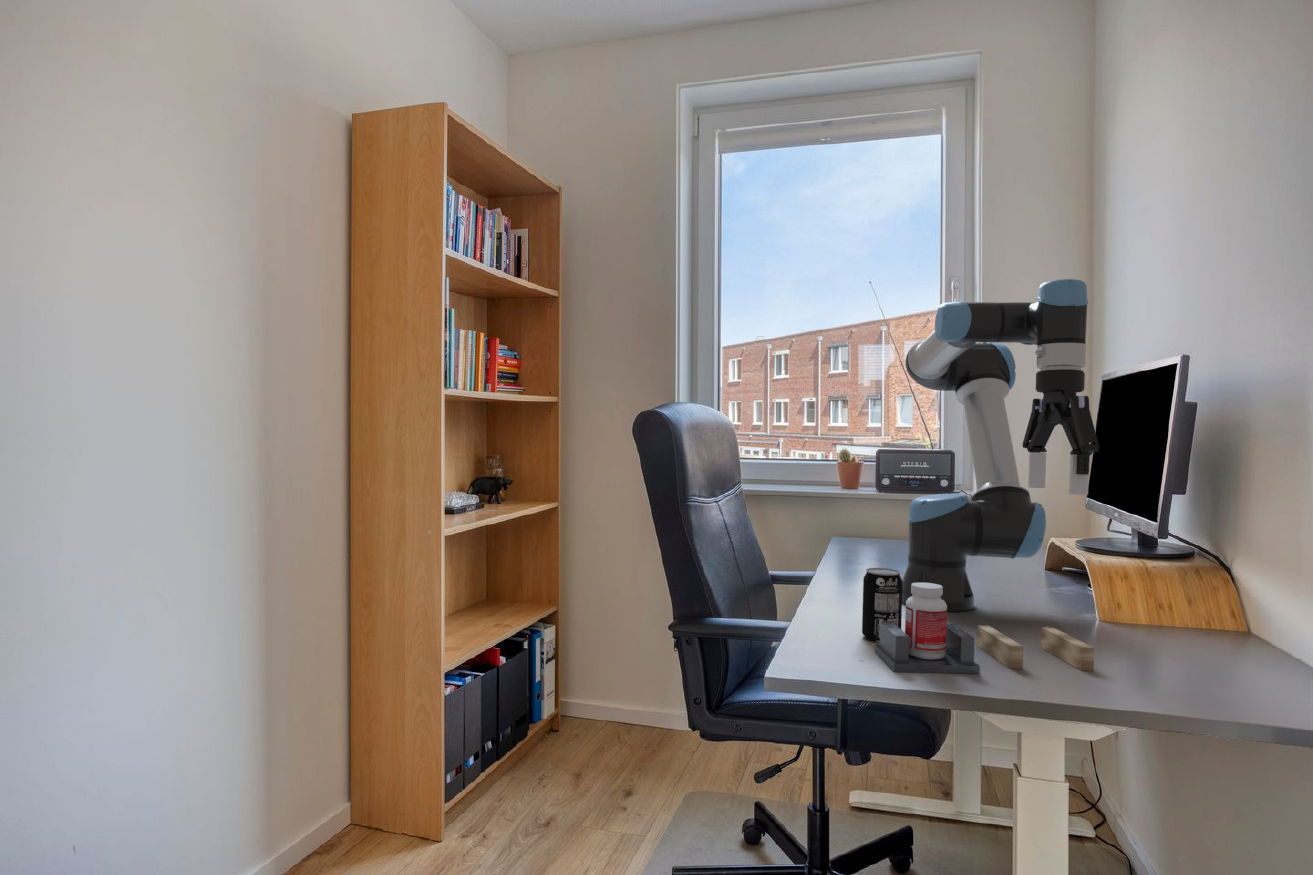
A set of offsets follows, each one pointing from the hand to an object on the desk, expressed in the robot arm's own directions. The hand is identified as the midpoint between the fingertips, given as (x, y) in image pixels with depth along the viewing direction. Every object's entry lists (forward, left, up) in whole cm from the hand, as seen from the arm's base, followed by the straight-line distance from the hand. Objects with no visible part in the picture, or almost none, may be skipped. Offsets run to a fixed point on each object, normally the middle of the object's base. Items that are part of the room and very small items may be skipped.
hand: (1056, 491), depth 129 cm
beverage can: (0, -30, -27) cm, 40 cm away
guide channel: (+9, -8, -27) cm, 29 cm away
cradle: (+13, -27, -27) cm, 40 cm away
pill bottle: (+13, -27, -26) cm, 39 cm away
